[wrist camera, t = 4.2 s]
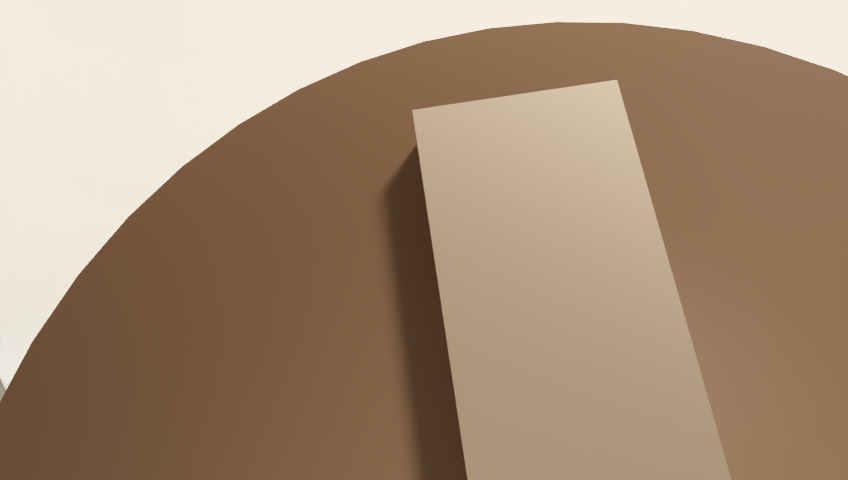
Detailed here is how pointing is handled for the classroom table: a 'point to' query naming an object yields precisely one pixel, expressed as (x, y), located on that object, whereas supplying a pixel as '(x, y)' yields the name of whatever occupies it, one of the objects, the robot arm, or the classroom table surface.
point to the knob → (475, 278)
